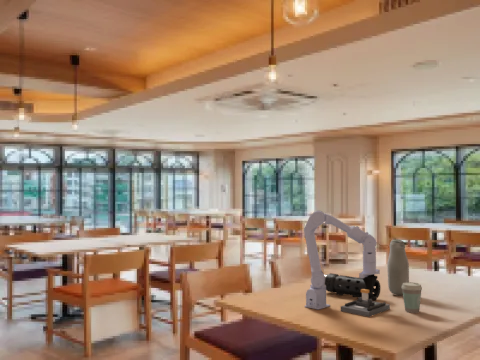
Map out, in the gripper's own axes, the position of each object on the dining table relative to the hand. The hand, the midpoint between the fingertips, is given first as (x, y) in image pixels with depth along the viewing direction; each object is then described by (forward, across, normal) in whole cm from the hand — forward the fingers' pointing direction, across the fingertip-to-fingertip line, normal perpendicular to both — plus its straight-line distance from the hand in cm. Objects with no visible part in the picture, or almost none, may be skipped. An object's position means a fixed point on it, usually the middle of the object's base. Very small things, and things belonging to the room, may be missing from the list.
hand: (369, 291), depth 207 cm
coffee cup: (+8, +8, -16) cm, 19 cm away
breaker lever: (+3, -4, 0) cm, 5 cm away
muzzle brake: (+8, +14, +19) cm, 25 cm away
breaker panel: (+7, -4, 0) cm, 9 cm away
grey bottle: (+8, +33, +3) cm, 34 cm away
